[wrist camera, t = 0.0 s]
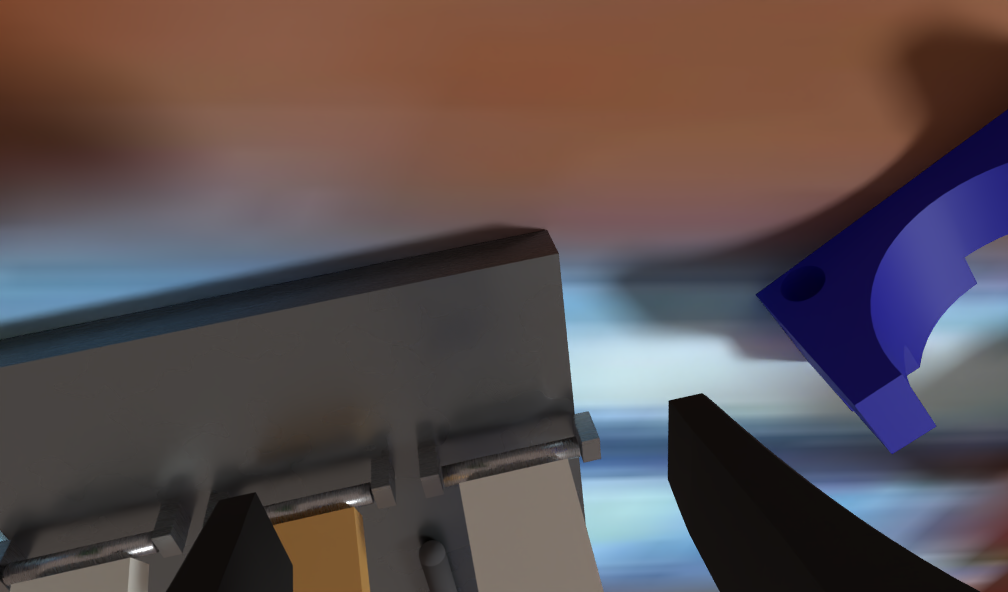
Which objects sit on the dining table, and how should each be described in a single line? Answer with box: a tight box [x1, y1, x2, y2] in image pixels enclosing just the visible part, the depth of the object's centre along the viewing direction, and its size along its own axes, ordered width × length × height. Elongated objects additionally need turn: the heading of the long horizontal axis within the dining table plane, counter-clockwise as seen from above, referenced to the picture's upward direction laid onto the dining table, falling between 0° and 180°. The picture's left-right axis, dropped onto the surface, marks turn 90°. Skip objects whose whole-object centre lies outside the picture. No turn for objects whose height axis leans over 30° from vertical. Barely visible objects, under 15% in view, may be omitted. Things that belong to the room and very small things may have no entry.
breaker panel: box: [0, 230, 601, 592], centre depth 24 cm, size 18×20×3 cm
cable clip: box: [756, 110, 1008, 454], centre depth 21 cm, size 12×4×6 cm, turn 131°
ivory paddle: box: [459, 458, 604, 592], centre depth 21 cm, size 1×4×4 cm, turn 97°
